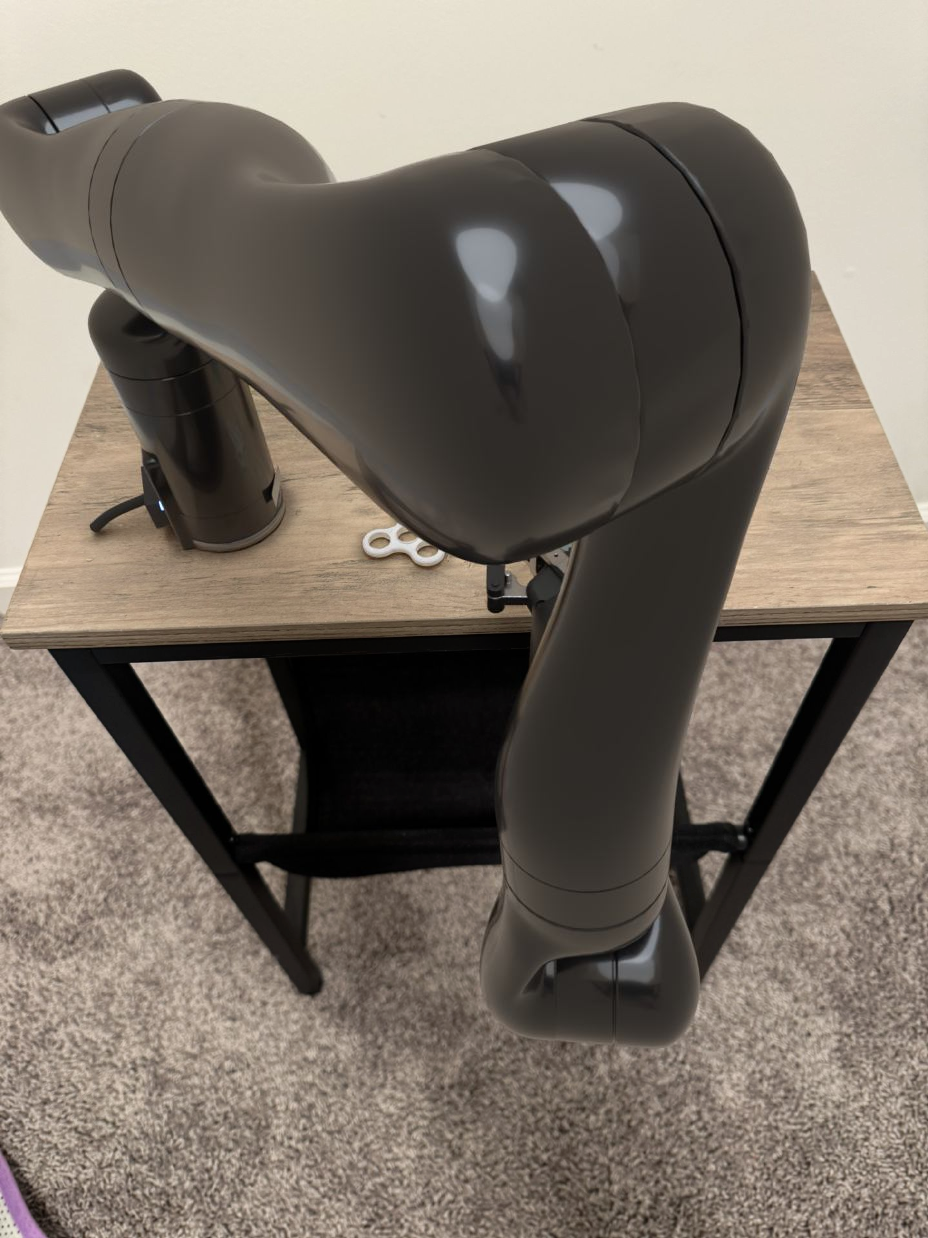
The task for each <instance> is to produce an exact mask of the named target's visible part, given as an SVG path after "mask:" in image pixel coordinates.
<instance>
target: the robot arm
mask: <svg viewBox="0 0 928 1238" xmlns="http://www.w3.org/2000/svg"><path fill="white" fill-rule="evenodd" d="M794 191H795V190H794V189H793V187H792V185H791V183H790V181H789V180H788V178H787V177H786V175H785V174H784V172H783V170H782V168H781V167H780V165H779V163H778V161H777V160H776V158H775V156H774V155H773V153H772V152H771V150H769V148H767V147H766V146H765V145H764V143H763V142H761V140H760V139H759V138H758V137H756V135H755V134H754V133H753V132H752V131H751V130H750V129H749V128H748V127H746V126H744V125H743V124H741V123H739V122H737V121H735V120H734V119H732V118H731V117H729V116H727V115H725V114H724V113H722V112H720V111H718V110H717V109H715V108H711V107H708V106H703V105H699V104H694V103H690V102H685V101H660V102H654V103H648V104H647V103H646V104H642V105H635V106H629V107H625V108H620V109H616V110H612V111H608V112H603V113H600V114H596V115H592V116H591V115H590V116H587V117H584V118H580V119H577V120H573V121H569V122H566V123H561V124H558V125H555V126H551V127H546V128H543V129H540V130H539V129H538V130H536V131H532V132H528V133H523V134H520V135H516V136H512V137H509V138H505V139H500V140H496V141H493V142H489V143H485V144H481V145H477V146H474V147H471V148H468V149H466V150H462V151H453V152H449V153H445V154H441V155H437V156H433V157H430V158H426V159H421V160H419V161H416V162H411V163H408V164H405V165H402V166H400V167H396V168H393V169H389V170H386V171H383V172H379V173H375V174H373V175H369V176H365V177H361V178H358V179H357V178H356V179H350V180H343V181H338V180H337V177H336V176H335V174H334V172H333V171H332V169H331V168H330V165H328V163H327V161H326V160H325V158H324V156H323V155H322V154H321V153H320V152H319V150H317V148H316V147H315V146H314V145H313V144H312V143H311V142H310V141H309V140H307V138H305V136H304V135H303V134H301V133H300V132H298V131H297V130H295V129H294V128H293V127H291V126H290V125H288V124H287V123H286V122H284V121H283V120H281V119H279V118H277V117H274V116H272V115H270V114H266V113H265V112H262V111H259V110H257V109H254V108H251V107H249V106H244V105H239V104H235V103H229V102H222V101H221V102H219V101H210V100H201V99H200V100H199V99H185V98H184V99H183V98H182V99H181V98H179V99H176V98H174V99H173V98H172V99H165V100H163V98H162V97H161V96H160V94H159V93H158V91H157V90H156V88H154V86H153V85H152V84H151V83H150V82H149V81H148V80H147V79H146V78H145V77H144V76H142V75H140V74H139V73H137V72H136V71H133V70H131V69H126V68H119V69H118V68H117V69H111V70H110V69H109V70H107V71H106V70H105V71H102V72H98V73H95V74H92V75H91V74H90V75H88V76H85V77H82V78H79V79H75V80H71V81H68V82H64V83H60V84H58V85H54V86H52V87H48V88H45V89H41V90H38V91H35V92H31V93H28V94H26V95H25V94H24V95H22V96H19V97H16V98H12V99H11V100H9V101H5V102H3V103H1V104H0V213H1V215H2V216H3V218H4V219H5V221H6V222H7V223H8V225H9V226H10V228H11V230H13V233H15V235H17V237H18V238H19V239H20V240H21V242H22V243H23V244H24V245H25V246H26V247H27V249H28V250H30V252H31V253H32V254H34V255H35V256H36V257H37V258H38V260H40V261H41V262H42V263H44V264H45V265H46V266H48V267H49V268H50V269H52V270H53V271H55V272H56V273H58V274H60V275H62V276H65V277H67V278H71V279H74V280H77V281H81V282H85V283H88V284H92V285H95V286H98V287H101V288H103V289H104V290H103V291H102V292H101V293H100V294H99V295H98V296H97V298H96V299H95V300H94V302H93V304H92V306H91V307H90V310H89V312H88V318H87V329H88V334H89V338H90V340H91V343H92V345H93V348H94V350H95V352H96V353H97V356H98V358H99V360H100V362H101V363H102V365H103V368H104V370H105V372H106V375H107V376H108V378H109V380H110V383H111V385H112V387H113V389H114V391H115V394H116V395H117V397H118V400H119V402H120V404H121V406H122V408H123V411H124V412H125V415H126V416H127V420H128V422H129V424H130V426H131V428H132V430H133V432H134V434H135V436H136V438H137V441H138V443H139V445H140V446H139V447H140V455H141V463H142V465H140V474H141V483H142V491H143V493H142V494H139V495H137V496H135V497H132V498H130V499H127V500H125V501H122V502H121V503H118V504H116V505H114V506H112V507H110V508H109V509H107V510H105V511H104V512H102V513H100V515H98V516H97V517H96V518H95V519H94V520H93V521H91V523H90V524H89V529H90V531H92V532H93V533H99V532H100V531H101V530H103V529H104V528H105V527H106V526H107V525H108V524H110V523H111V522H112V521H114V520H115V519H116V518H119V517H120V516H122V515H124V514H127V513H129V512H131V511H134V510H136V509H139V508H141V507H145V508H146V510H147V513H148V515H149V517H150V519H151V521H152V523H153V525H154V527H155V529H156V530H158V529H161V528H166V527H171V528H172V530H173V532H174V534H175V536H176V539H177V540H178V543H179V545H180V547H181V549H182V550H188V549H192V548H193V549H194V548H197V549H200V550H203V551H208V552H221V553H222V552H232V551H237V550H240V549H244V548H247V547H250V546H252V545H254V544H256V543H258V542H260V541H261V540H263V539H265V538H266V537H268V536H269V535H270V534H271V533H272V532H273V531H274V530H275V529H276V528H277V527H278V525H279V524H280V523H281V521H282V519H283V517H284V514H285V511H286V498H285V495H284V492H283V488H282V485H281V482H282V473H281V470H280V466H279V464H278V462H277V464H276V468H275V466H274V465H275V464H274V462H273V459H272V455H271V452H270V449H269V446H268V443H267V439H266V436H265V433H264V429H263V426H262V423H261V420H260V417H259V414H258V410H257V406H256V403H255V401H254V397H253V394H252V391H251V389H253V390H254V391H255V392H257V393H258V394H259V395H260V396H262V397H263V399H265V400H266V401H267V402H268V403H269V404H270V405H271V406H272V407H274V408H275V409H276V410H277V411H278V412H279V413H280V414H281V415H282V416H283V417H284V418H285V419H286V420H287V421H288V422H289V423H290V424H291V425H292V426H293V427H295V429H296V430H298V431H299V433H300V434H302V435H303V436H304V437H305V438H306V439H307V441H309V442H310V443H311V444H312V445H313V446H314V447H315V448H316V449H317V450H318V451H319V452H320V453H321V454H323V456H324V457H325V458H327V460H328V461H330V462H331V463H332V464H333V466H335V467H336V468H337V469H338V470H339V471H340V472H341V473H342V474H343V475H344V476H345V477H346V478H347V479H348V480H349V481H351V482H352V484H354V485H355V487H357V488H358V489H359V490H360V491H361V492H362V493H363V494H364V495H365V496H367V497H368V498H369V499H370V500H371V501H372V502H373V503H374V504H375V505H376V506H377V507H378V508H379V509H380V510H382V511H383V512H384V513H385V514H386V515H388V516H389V517H390V518H391V519H392V520H393V521H395V522H396V524H397V523H399V524H400V525H401V526H403V527H404V528H405V529H407V530H408V531H409V532H408V533H411V534H412V535H413V536H415V537H416V538H417V537H418V538H419V539H421V540H423V541H424V542H426V543H428V544H429V545H431V546H430V547H433V548H434V549H436V550H437V551H438V550H440V551H443V552H445V554H447V555H449V556H451V557H454V558H456V559H459V560H461V561H465V562H469V563H472V564H475V565H481V566H486V571H485V572H486V573H485V589H486V593H485V594H486V609H487V611H488V612H489V613H491V614H495V615H496V614H500V613H502V612H503V611H504V610H505V608H506V606H526V607H527V609H528V610H529V612H530V615H531V622H530V623H531V625H530V639H529V640H530V641H529V657H528V670H527V672H526V674H525V676H524V679H523V682H522V683H521V686H520V688H519V691H518V693H517V695H516V697H515V700H514V702H513V704H512V708H511V710H510V713H509V716H508V718H507V720H506V721H507V722H506V725H505V728H504V732H503V735H502V738H501V741H500V745H499V749H498V754H497V759H496V765H495V774H494V787H493V798H494V799H493V800H494V801H493V803H494V813H495V822H496V830H497V837H498V838H497V839H498V844H499V852H500V860H501V869H502V884H501V887H500V890H499V892H498V894H497V896H496V899H495V901H494V903H493V906H492V908H491V910H490V913H489V916H488V919H487V923H486V927H485V930H484V934H483V938H482V942H481V948H480V955H479V968H478V969H479V985H480V990H481V994H482V998H483V1001H484V1003H485V1006H486V1008H487V1010H488V1011H489V1012H490V1015H492V1017H493V1018H494V1019H495V1021H497V1022H498V1023H499V1024H500V1025H501V1026H502V1027H503V1028H504V1029H506V1030H507V1031H509V1032H511V1033H512V1034H514V1035H517V1036H518V1037H519V1036H520V1037H522V1038H526V1039H529V1040H538V1041H547V1042H549V1041H551V1042H557V1041H558V1042H563V1043H564V1042H565V1043H577V1044H588V1045H589V1044H590V1045H601V1046H613V1045H615V1046H616V1047H621V1048H622V1047H623V1048H632V1049H633V1048H634V1049H645V1050H646V1049H648V1050H653V1049H665V1048H667V1047H670V1046H672V1045H674V1044H675V1043H676V1042H678V1041H679V1040H680V1039H682V1037H683V1036H684V1035H685V1034H686V1032H687V1031H688V1029H689V1028H690V1026H691V1024H692V1022H693V1020H694V1018H695V1015H696V1013H697V1010H698V1006H699V1001H700V993H701V977H700V969H699V963H698V962H699V961H698V957H697V954H696V950H695V947H694V944H693V940H692V937H691V933H690V930H689V928H688V925H687V922H686V919H685V915H684V913H683V910H682V908H681V905H680V903H679V900H678V897H677V895H676V892H675V889H674V886H673V884H672V880H671V877H670V874H669V873H670V864H671V854H672V842H673V834H674V833H673V831H674V818H675V808H676V807H675V806H676V805H675V804H676V796H677V789H678V784H679V783H678V782H679V776H680V768H681V764H682V759H683V758H682V757H683V753H684V748H685V742H686V738H687V733H688V729H689V725H690V722H691V718H692V715H693V714H692V713H693V712H694V711H693V710H694V706H695V704H696V700H697V695H698V692H699V689H700V685H701V681H702V677H703V674H704V671H705V668H706V664H707V661H708V659H709V654H710V651H711V648H712V645H713V641H714V638H715V635H716V631H717V628H718V626H719V623H720V619H721V615H722V612H723V608H724V606H725V603H726V600H727V596H728V594H729V590H730V588H731V584H732V581H733V578H734V574H735V573H736V568H737V565H738V562H739V559H740V555H741V552H742V549H743V546H744V542H745V539H746V536H747V533H748V530H749V527H750V525H751V521H752V518H753V516H754V513H755V510H756V507H757V504H758V502H759V499H760V497H761V492H762V489H763V487H764V485H765V481H766V478H767V475H768V472H769V470H770V467H771V464H772V461H773V458H774V455H775V453H776V450H777V446H778V443H779V441H780V437H781V435H782V432H783V428H784V425H785V422H786V419H787V416H788V413H789V410H790V407H791V403H792V400H793V398H794V393H795V390H796V386H797V384H798V383H797V382H798V379H799V376H800V372H801V368H802V364H803V360H804V356H805V351H806V345H807V341H808V335H809V328H810V322H811V321H810V320H811V310H812V299H813V296H812V295H813V273H812V264H811V256H810V248H809V247H810V246H809V238H808V232H807V227H806V224H805V221H804V218H803V216H802V215H803V214H802V212H801V209H800V206H799V203H798V200H797V197H796V194H795V192H794ZM570 543H572V546H571V547H569V548H568V551H564V550H562V549H561V547H564V546H566V545H568V544H570ZM521 562H524V563H525V564H526V565H527V567H528V569H529V572H530V574H531V575H532V578H531V579H530V580H529V581H528V582H527V584H526V586H525V585H522V584H520V583H519V582H518V578H517V576H516V575H514V574H513V573H512V571H511V570H509V569H508V570H506V565H511V564H515V563H521Z"/></svg>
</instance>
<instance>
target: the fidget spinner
mask: <svg viewBox="0 0 928 1238" xmlns="http://www.w3.org/2000/svg"><path fill="white" fill-rule="evenodd" d="M404 533H410V532H409V531H408V530H407V529H405V528H404V527H403V526H401V525H400V524H399V523H397V522H396V524H395V525H394V526H392V527H387V528H375V529H372V530H371V531H369V532H368V533H367V534H365V536H364V537H363V539H362V549H363V551H364V553H365V554H367V555H368V556H370V557H373V558H385V557H387V556H389V555H392V554H395V553H404V554H407V555H408V556H409V557H410V558H411V560H412V561H413V562H414V563H415V564H417V565H419V566H421V567H431V566H432V567H433V566H435V565H437V564H439V563H440V562H441V561H443V559H444V558H445V555H446V553H445V552H443V551H440V550H438V549H437V552H436V553H435V554H434V555H432V556H428V557H427V556H426V557H425V556H422V555H419V554H418V551H419V550H420V549H422V548H424V547H427V546H430V547H432V546H431V545H429V544H428V543H426V542H424V541H423V540H421V539H419V538H418V537H416V538H415V539H414V540H411V541H403V540H400V539H399V537H400V536H401V535H403V534H404ZM378 538H385V539H387V540H389V543H388V545H386V546H384V547H382V548H375V547H372V546H371V545H370V544H371V543H372V542H373V541H374V540H376V539H378Z"/></svg>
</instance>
